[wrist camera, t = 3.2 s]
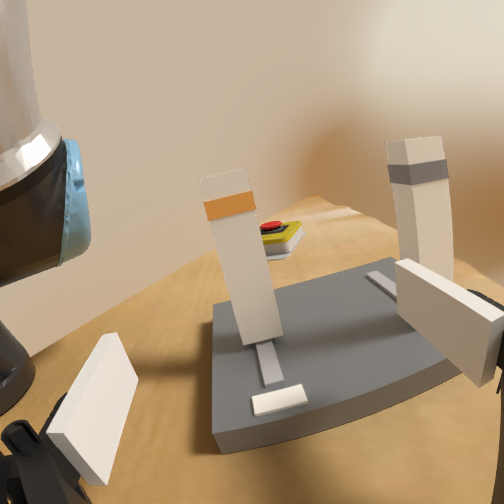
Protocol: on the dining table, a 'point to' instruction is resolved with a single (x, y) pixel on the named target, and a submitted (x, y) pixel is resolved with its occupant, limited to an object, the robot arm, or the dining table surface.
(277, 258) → the emergency button
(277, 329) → the block
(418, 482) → the dining table surface
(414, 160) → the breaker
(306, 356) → the panel
